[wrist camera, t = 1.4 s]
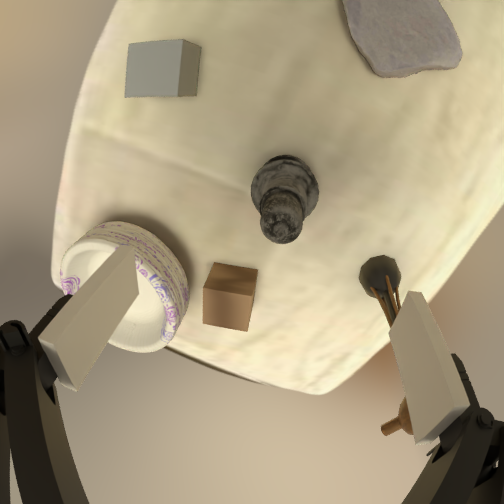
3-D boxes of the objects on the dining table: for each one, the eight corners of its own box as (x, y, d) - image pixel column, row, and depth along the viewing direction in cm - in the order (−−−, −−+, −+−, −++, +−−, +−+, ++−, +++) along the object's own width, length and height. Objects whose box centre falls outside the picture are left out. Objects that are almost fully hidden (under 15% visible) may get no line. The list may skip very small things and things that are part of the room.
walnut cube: (257, 269, 34) (252, 296, 30) (253, 303, 37) (247, 331, 32) (214, 262, 35) (203, 287, 30) (213, 296, 37) (202, 323, 33)
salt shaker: (294, 140, 27) (295, 170, 16) (327, 191, 29) (344, 250, 18) (243, 172, 29) (213, 222, 19) (277, 219, 31) (266, 290, 21)
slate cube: (201, 47, 23) (183, 39, 19) (196, 95, 26) (177, 96, 21) (153, 49, 24) (128, 43, 19) (149, 95, 26) (124, 97, 22)
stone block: (370, 86, 25) (458, 68, 20) (372, 85, 21) (474, 66, 16) (323, -14, 20) (411, -33, 15) (316, -30, 16) (417, -50, 12)
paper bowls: (74, 247, 37) (40, 278, 30) (142, 184, 31) (103, 212, 24) (143, 326, 42) (121, 365, 35) (223, 287, 36) (206, 333, 29)
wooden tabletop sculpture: (370, 302, 34) (402, 456, 17) (344, 282, 33) (368, 446, 16) (406, 270, 32) (467, 421, 14) (381, 247, 31) (442, 407, 13)
